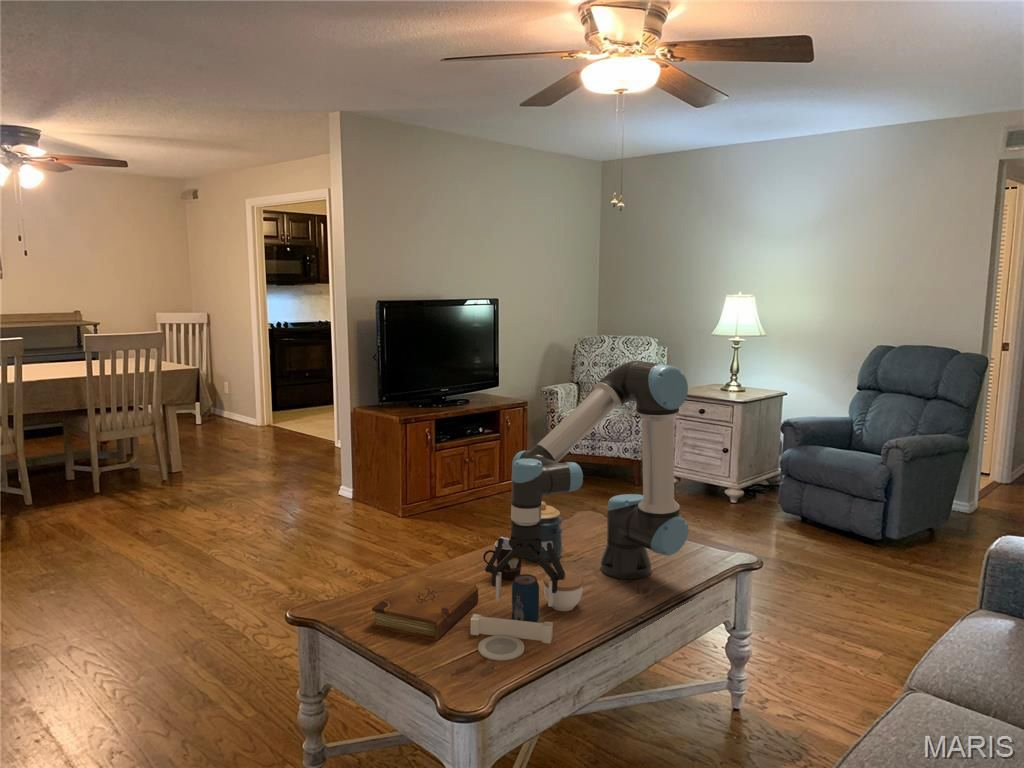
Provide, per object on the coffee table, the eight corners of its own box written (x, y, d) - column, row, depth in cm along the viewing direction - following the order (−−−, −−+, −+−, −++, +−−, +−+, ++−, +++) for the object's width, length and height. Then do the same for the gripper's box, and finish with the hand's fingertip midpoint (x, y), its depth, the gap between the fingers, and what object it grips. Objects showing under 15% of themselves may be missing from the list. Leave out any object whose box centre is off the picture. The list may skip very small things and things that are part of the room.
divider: (552, 637, 176) (552, 622, 176) (550, 643, 173) (550, 628, 173) (473, 629, 180) (473, 614, 180) (470, 634, 177) (470, 619, 177)
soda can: (537, 616, 187) (538, 573, 185) (539, 629, 180) (540, 584, 179) (511, 617, 187) (511, 573, 185) (512, 629, 180) (512, 584, 178)
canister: (515, 559, 226) (515, 505, 224) (530, 545, 238) (530, 494, 236) (554, 565, 222) (554, 510, 219) (567, 551, 233) (568, 498, 231)
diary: (437, 643, 174) (437, 621, 173) (372, 629, 181) (371, 607, 180) (478, 604, 195) (478, 584, 194) (418, 593, 202) (417, 573, 201)
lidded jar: (556, 618, 186) (556, 584, 185) (535, 602, 196) (536, 569, 194) (590, 610, 191) (591, 576, 190) (569, 594, 201) (569, 562, 199)
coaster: (528, 640, 175) (528, 637, 175) (519, 663, 164) (519, 660, 164) (484, 635, 177) (484, 632, 177) (472, 657, 167) (472, 654, 166)
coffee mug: (524, 571, 217) (525, 539, 216) (522, 582, 208) (522, 549, 207) (486, 569, 218) (486, 537, 217) (482, 581, 210) (482, 548, 208)
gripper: (577, 520, 181) (574, 600, 184) (481, 512, 186) (480, 590, 189) (573, 530, 174) (570, 613, 176) (474, 521, 179) (473, 602, 182)
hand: (524, 601), depth 183 cm, fingers open, 13 cm apart
